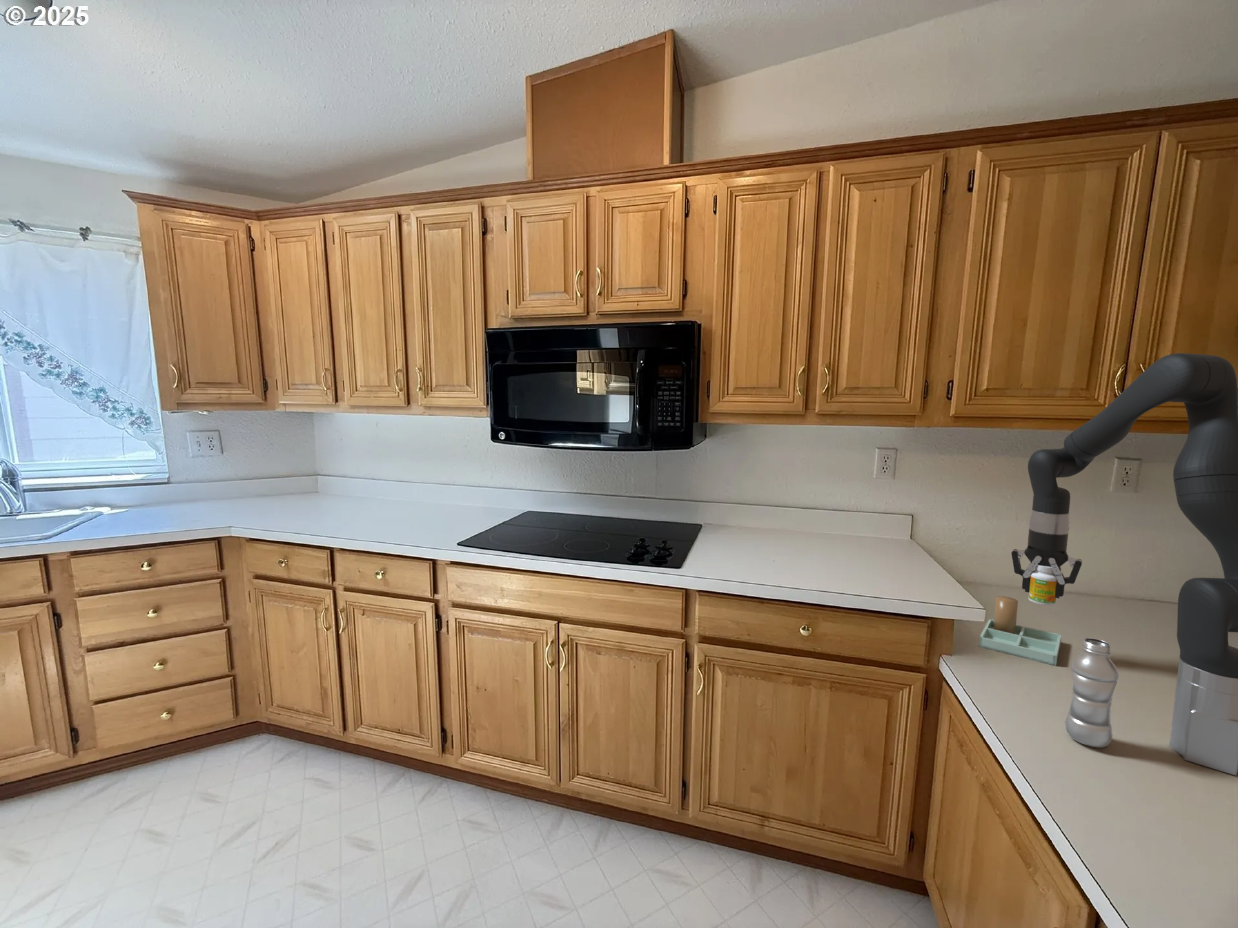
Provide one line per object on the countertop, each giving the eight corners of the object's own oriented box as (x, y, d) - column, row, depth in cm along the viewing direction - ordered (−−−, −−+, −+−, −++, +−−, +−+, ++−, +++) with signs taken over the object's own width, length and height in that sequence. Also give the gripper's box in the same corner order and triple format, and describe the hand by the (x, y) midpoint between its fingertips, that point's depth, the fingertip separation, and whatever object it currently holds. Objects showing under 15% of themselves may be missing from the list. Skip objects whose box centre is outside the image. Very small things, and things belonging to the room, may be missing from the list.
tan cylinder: (1014, 639, 141) (1016, 604, 140) (992, 634, 144) (994, 599, 143) (1016, 633, 144) (1018, 599, 143) (995, 628, 147) (997, 594, 146)
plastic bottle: (1063, 726, 104) (1072, 631, 102) (1109, 739, 100) (1119, 640, 98) (1064, 743, 99) (1073, 643, 97) (1113, 757, 95) (1123, 653, 93)
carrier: (1055, 665, 128) (1056, 656, 127) (978, 646, 138) (979, 637, 138) (1060, 643, 139) (1061, 634, 139) (988, 626, 150) (989, 618, 150)
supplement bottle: (1030, 603, 130) (1033, 566, 129) (1025, 596, 135) (1029, 559, 134) (1058, 607, 128) (1061, 569, 126) (1052, 599, 133) (1055, 562, 131)
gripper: (1010, 527, 131) (1004, 591, 133) (1086, 537, 121) (1079, 606, 124) (1014, 521, 136) (1009, 583, 139) (1087, 530, 127) (1080, 597, 129)
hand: (1042, 593), depth 131 cm, fingers closed on supplement bottle, 5 cm apart
